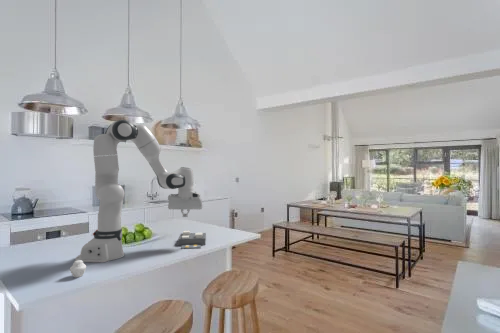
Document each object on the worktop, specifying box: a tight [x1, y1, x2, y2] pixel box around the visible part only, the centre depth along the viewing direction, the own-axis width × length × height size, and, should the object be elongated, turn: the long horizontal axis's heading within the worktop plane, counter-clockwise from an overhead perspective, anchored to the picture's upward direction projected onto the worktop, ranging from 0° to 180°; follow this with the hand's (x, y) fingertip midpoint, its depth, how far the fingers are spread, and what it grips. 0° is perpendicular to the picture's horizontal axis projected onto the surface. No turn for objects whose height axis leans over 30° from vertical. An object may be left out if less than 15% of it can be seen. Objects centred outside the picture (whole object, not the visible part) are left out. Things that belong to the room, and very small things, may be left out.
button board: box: [177, 232, 207, 247], centre depth 180 cm, size 16×14×4 cm
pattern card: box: [180, 245, 202, 250], centre depth 169 cm, size 11×5×1 cm, turn 97°
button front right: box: [195, 232, 203, 238], centre depth 177 cm, size 4×4×3 cm
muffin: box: [69, 260, 87, 278], centre depth 125 cm, size 6×6×7 cm
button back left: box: [182, 230, 191, 236], centre depth 183 cm, size 4×4×3 cm
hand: (185, 216), depth 176 cm, fingers closed
